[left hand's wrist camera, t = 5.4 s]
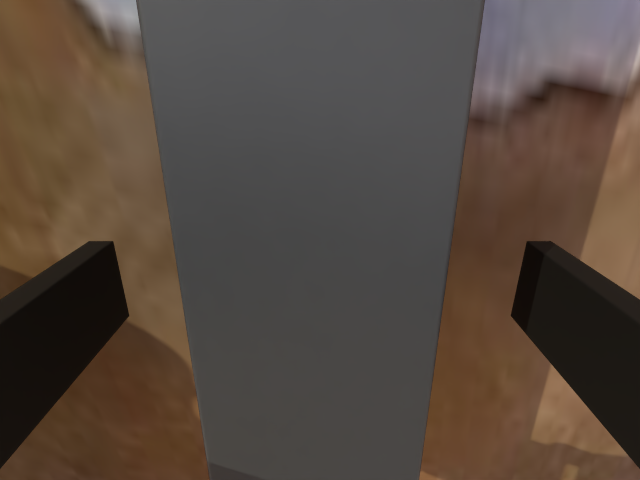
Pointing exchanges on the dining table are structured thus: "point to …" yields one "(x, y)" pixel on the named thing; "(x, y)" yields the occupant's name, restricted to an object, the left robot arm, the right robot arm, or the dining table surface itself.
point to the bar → (312, 219)
